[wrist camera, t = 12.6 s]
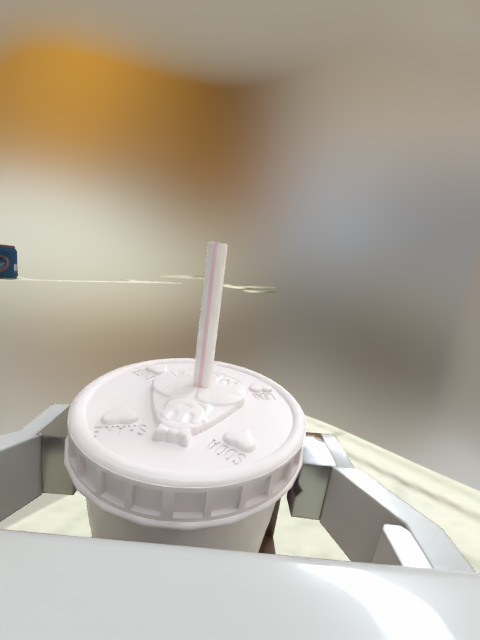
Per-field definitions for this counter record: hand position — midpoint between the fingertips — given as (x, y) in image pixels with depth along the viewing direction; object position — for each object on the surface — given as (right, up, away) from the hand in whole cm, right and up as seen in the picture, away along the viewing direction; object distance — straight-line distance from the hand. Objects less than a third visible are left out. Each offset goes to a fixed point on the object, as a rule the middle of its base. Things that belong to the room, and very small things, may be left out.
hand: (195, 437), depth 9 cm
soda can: (-87, +20, +93) cm, 128 cm away
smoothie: (-1, -8, +1) cm, 8 cm away
